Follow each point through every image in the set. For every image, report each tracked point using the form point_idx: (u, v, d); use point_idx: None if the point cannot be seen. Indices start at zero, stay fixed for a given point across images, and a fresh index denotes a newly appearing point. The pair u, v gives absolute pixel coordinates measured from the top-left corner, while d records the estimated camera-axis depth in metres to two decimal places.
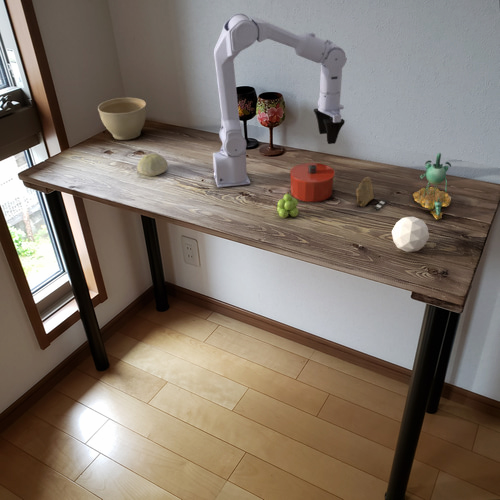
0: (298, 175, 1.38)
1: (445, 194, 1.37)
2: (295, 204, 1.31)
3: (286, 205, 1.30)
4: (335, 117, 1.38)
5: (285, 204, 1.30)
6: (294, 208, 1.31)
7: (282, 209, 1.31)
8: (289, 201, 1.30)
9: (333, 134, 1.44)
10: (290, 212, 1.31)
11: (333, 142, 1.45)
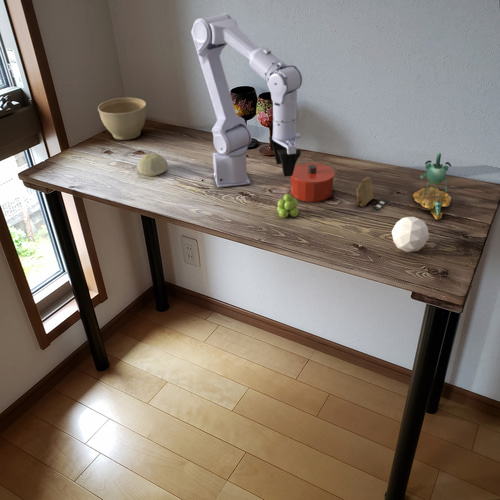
0: (298, 175, 1.38)
1: (445, 194, 1.37)
2: (295, 204, 1.31)
3: (286, 205, 1.30)
4: (289, 148, 1.23)
5: (285, 204, 1.30)
6: (294, 208, 1.31)
7: (282, 209, 1.31)
8: (289, 201, 1.30)
9: (289, 166, 1.29)
10: (290, 212, 1.31)
11: (290, 174, 1.31)
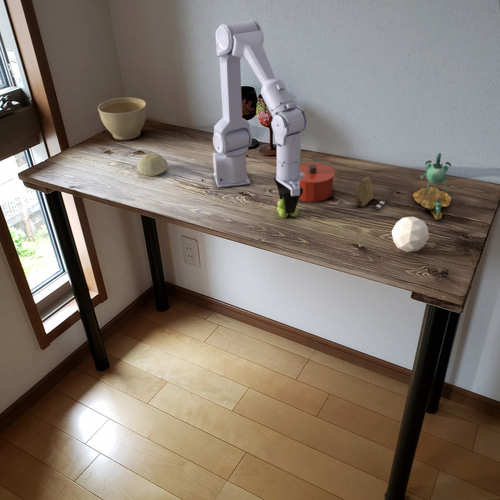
0: None
1: (445, 194, 1.37)
2: None
3: None
4: (293, 190, 1.21)
5: None
6: None
7: (282, 209, 1.31)
8: None
9: (291, 203, 1.28)
10: None
11: (292, 212, 1.30)
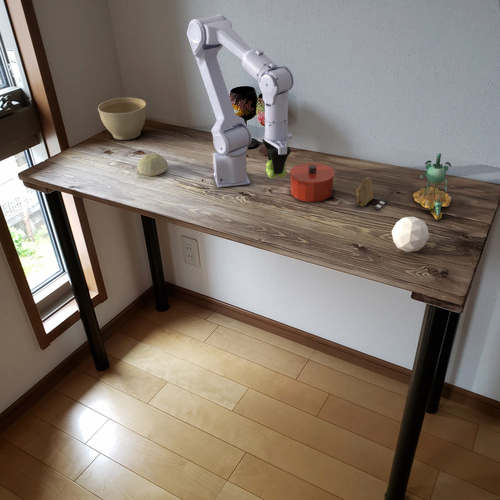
0: (298, 175, 1.38)
1: (445, 194, 1.37)
2: None
3: None
4: (280, 149, 1.25)
5: None
6: None
7: (270, 170, 1.34)
8: None
9: (279, 164, 1.32)
10: None
11: (280, 172, 1.33)
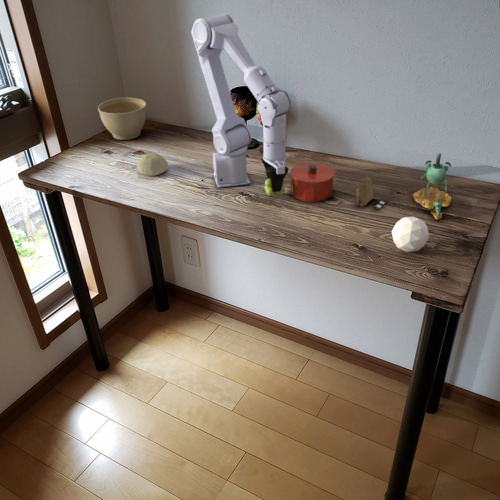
0: (298, 175, 1.38)
1: (445, 194, 1.37)
2: None
3: None
4: (278, 169, 1.29)
5: None
6: None
7: (269, 188, 1.39)
8: None
9: (277, 182, 1.36)
10: None
11: (278, 190, 1.38)
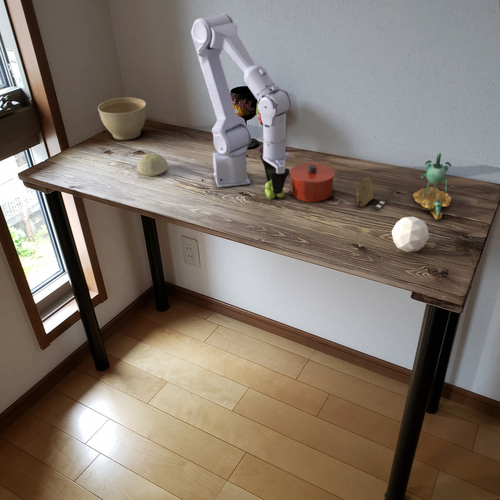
0: (298, 175, 1.38)
1: (445, 194, 1.37)
2: None
3: None
4: (278, 168, 1.29)
5: None
6: None
7: (269, 191, 1.39)
8: None
9: (278, 184, 1.35)
10: None
11: (279, 192, 1.36)
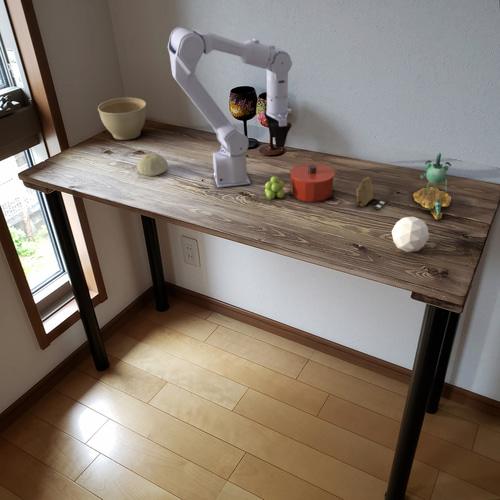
0: (298, 175, 1.38)
1: (445, 194, 1.37)
2: (281, 186, 1.39)
3: (273, 187, 1.38)
4: (281, 121, 1.38)
5: (272, 186, 1.38)
6: (280, 190, 1.39)
7: (269, 191, 1.39)
8: (276, 183, 1.38)
9: (281, 138, 1.44)
10: (277, 193, 1.40)
11: (282, 146, 1.46)
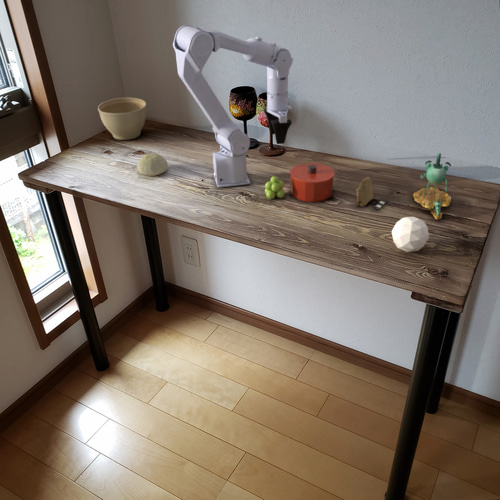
0: (298, 175, 1.38)
1: (445, 194, 1.37)
2: (281, 186, 1.39)
3: (273, 187, 1.38)
4: (281, 118, 1.40)
5: (272, 186, 1.38)
6: (280, 190, 1.39)
7: (269, 191, 1.39)
8: (276, 183, 1.38)
9: (281, 134, 1.46)
10: (277, 193, 1.40)
11: (282, 142, 1.48)
